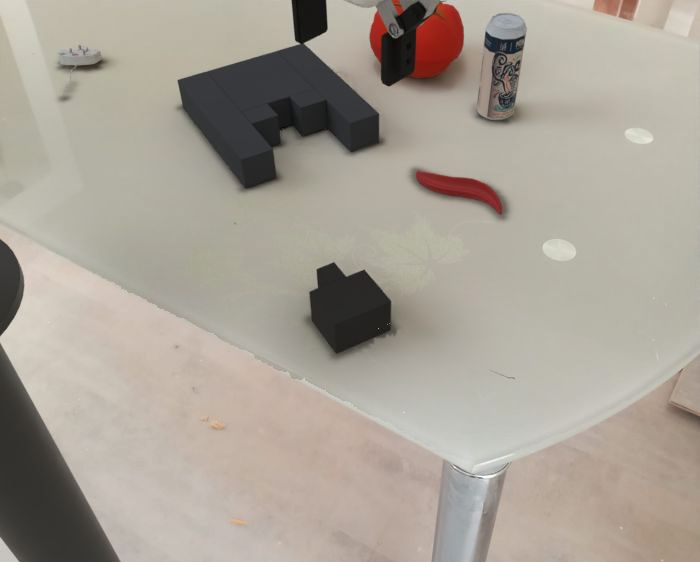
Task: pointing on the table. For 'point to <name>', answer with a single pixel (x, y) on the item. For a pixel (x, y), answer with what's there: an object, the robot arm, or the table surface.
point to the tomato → (428, 39)
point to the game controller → (79, 57)
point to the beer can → (501, 66)
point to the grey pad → (274, 108)
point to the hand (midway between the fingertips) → (353, 57)
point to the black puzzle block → (348, 307)
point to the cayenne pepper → (460, 188)
